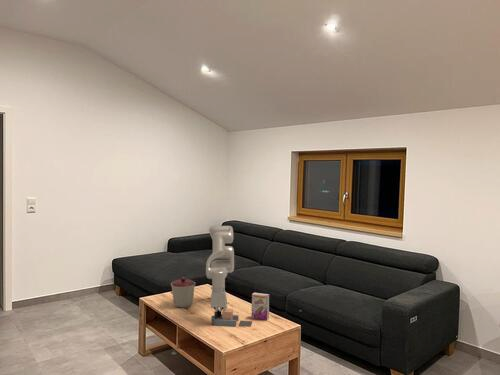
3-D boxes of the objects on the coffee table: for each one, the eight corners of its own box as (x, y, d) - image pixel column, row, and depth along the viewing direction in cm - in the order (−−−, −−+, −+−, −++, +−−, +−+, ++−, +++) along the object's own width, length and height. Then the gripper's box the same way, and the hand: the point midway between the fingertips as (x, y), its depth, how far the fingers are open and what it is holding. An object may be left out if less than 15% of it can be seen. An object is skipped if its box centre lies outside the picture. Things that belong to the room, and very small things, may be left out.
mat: (240, 320, 259) (240, 320, 259) (252, 321, 258) (252, 321, 258) (238, 326, 250) (238, 325, 250) (250, 326, 249) (250, 326, 249)
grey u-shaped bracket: (215, 318, 262) (215, 310, 262) (238, 320, 260) (238, 312, 259) (211, 325, 251) (211, 316, 251) (235, 326, 249) (235, 318, 249)
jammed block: (224, 320, 259) (224, 308, 258) (232, 320, 258) (232, 308, 257) (222, 323, 253) (222, 311, 252) (231, 324, 252) (231, 312, 251)
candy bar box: (251, 318, 263) (251, 294, 262) (253, 315, 268) (253, 292, 267) (267, 320, 259) (267, 296, 259) (269, 317, 264) (269, 293, 263)
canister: (199, 306, 286) (199, 278, 285) (177, 311, 275) (177, 282, 274) (188, 299, 300) (188, 272, 300) (166, 304, 290) (166, 276, 289)
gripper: (206, 290, 252) (206, 318, 253) (229, 291, 250) (229, 319, 251) (209, 287, 260) (209, 314, 260) (231, 288, 258) (231, 315, 258)
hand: (218, 316), depth 256 cm, fingers closed
